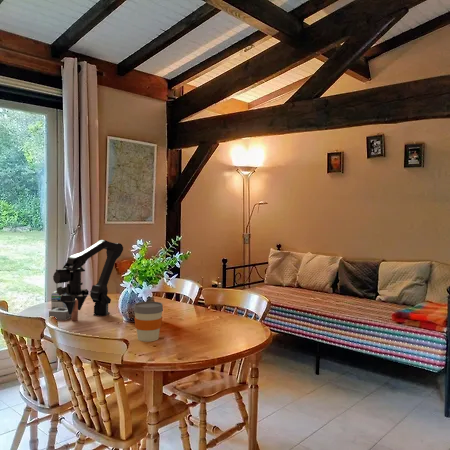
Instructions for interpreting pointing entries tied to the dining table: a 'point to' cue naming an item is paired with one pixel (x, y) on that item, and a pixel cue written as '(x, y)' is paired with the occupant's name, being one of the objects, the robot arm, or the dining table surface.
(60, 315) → the hole block
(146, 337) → the reusable coffee cup
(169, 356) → the dining table surface
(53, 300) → the light bulb box
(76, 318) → the peg
